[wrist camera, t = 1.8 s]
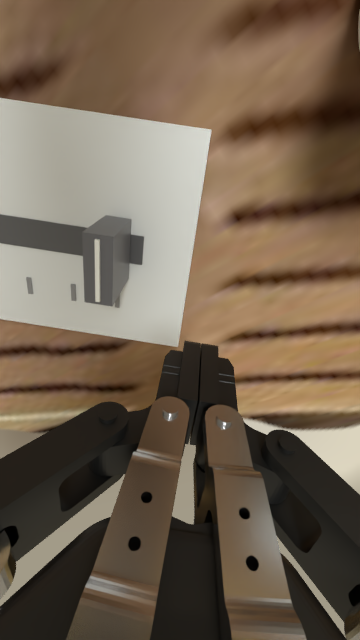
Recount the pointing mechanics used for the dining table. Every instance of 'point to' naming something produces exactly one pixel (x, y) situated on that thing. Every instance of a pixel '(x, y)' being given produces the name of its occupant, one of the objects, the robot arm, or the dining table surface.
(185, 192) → the console board
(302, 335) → the dining table surface
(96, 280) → the fader tab
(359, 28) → the supplement tub
